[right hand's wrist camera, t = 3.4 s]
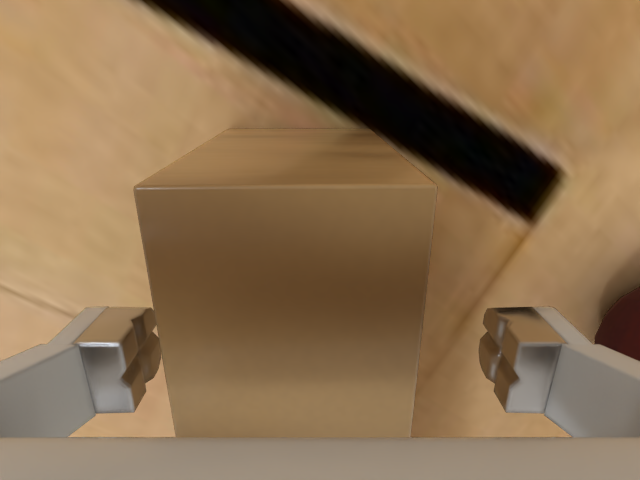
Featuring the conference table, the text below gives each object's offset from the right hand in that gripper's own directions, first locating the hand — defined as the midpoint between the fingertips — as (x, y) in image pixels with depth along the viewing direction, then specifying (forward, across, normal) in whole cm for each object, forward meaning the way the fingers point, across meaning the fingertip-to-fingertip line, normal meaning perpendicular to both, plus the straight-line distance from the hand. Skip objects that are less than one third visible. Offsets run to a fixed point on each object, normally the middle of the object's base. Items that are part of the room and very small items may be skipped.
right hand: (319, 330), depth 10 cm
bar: (+7, -1, -9) cm, 12 cm away
